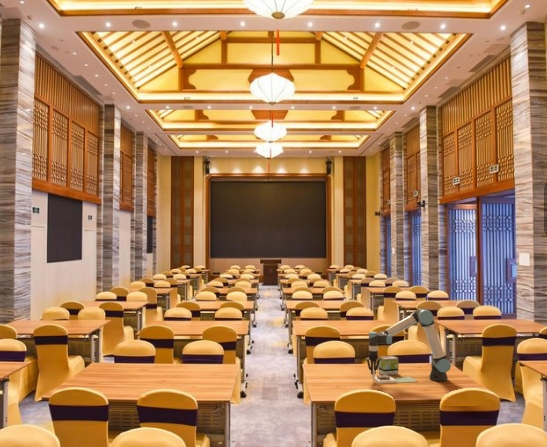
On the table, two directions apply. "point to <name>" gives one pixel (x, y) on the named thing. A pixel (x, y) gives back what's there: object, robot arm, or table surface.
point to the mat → (405, 379)
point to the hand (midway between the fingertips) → (373, 378)
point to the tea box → (388, 365)
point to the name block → (383, 377)
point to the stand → (385, 380)
